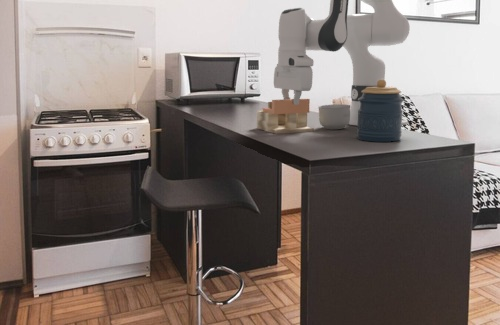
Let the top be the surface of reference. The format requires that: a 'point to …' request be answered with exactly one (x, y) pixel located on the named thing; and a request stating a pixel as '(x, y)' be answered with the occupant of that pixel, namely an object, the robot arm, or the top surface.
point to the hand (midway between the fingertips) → (291, 103)
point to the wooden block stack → (282, 122)
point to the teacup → (334, 116)
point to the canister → (380, 114)
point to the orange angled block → (288, 106)
